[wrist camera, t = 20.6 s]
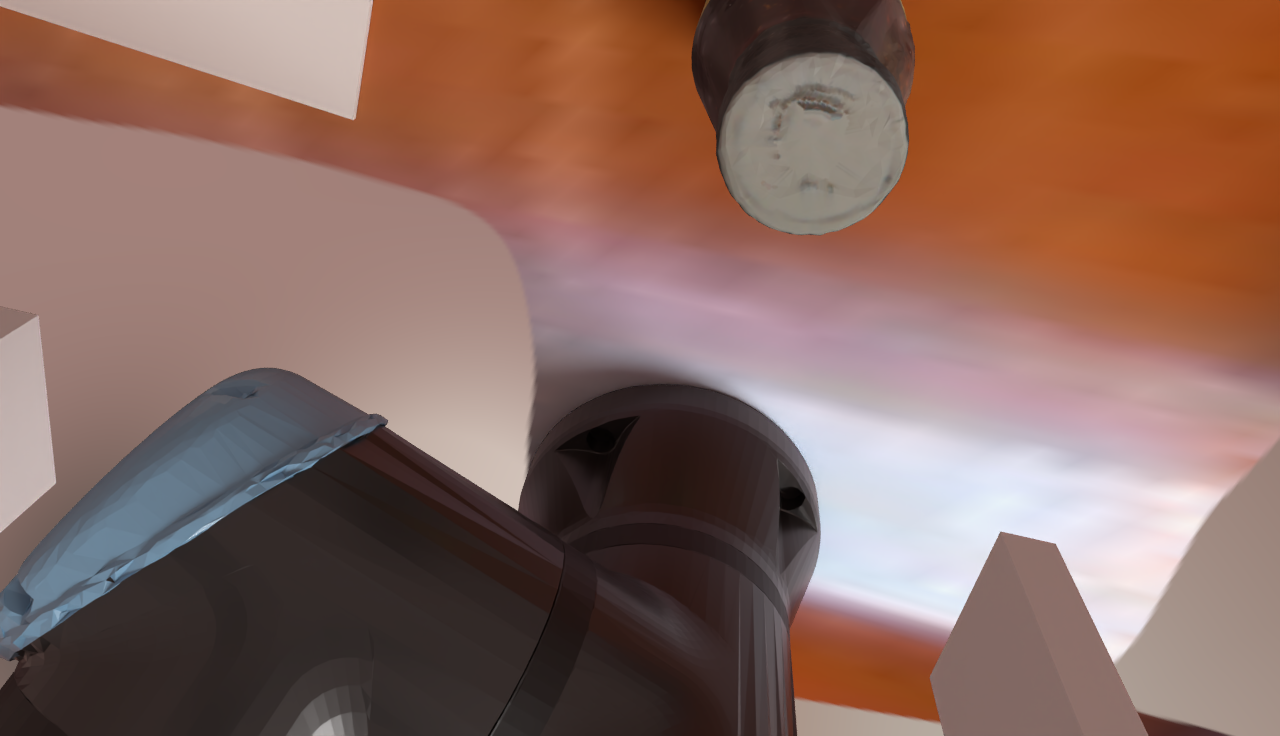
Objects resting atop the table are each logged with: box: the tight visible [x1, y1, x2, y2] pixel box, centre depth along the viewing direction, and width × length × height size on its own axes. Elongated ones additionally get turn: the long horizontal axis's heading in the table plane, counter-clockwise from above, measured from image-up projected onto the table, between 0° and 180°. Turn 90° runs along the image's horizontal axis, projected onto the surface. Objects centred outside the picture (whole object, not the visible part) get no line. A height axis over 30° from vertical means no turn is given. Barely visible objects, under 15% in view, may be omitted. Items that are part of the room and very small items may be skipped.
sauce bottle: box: [692, 0, 915, 235], centre depth 28 cm, size 6×6×20 cm
